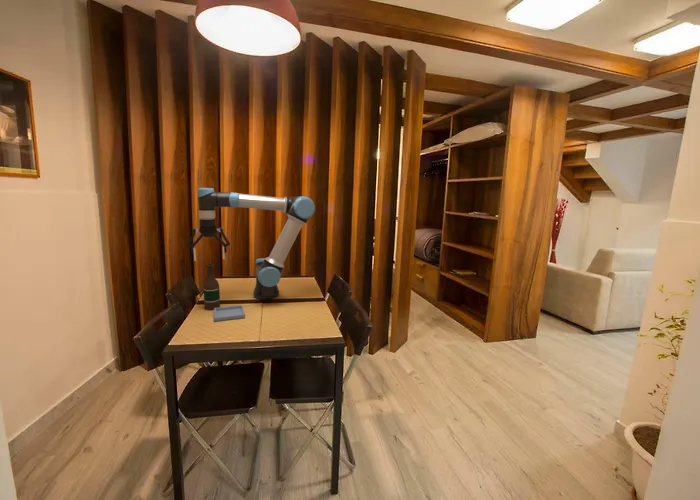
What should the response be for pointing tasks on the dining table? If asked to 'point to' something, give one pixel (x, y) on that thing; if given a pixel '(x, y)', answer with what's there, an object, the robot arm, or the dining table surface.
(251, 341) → the dining table surface
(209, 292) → the beer bottle
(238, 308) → the tray
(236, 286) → the dining table surface
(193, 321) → the dining table surface
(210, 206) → the robot arm
